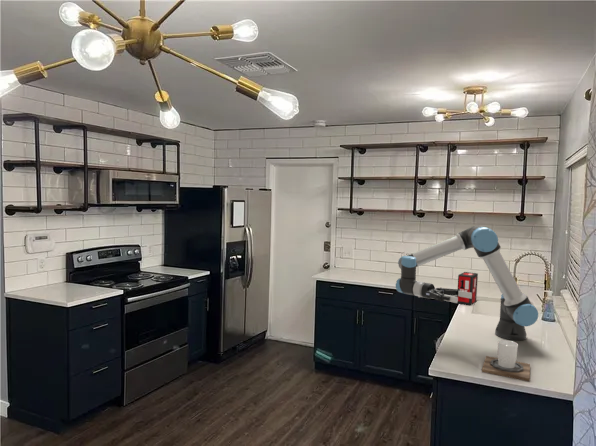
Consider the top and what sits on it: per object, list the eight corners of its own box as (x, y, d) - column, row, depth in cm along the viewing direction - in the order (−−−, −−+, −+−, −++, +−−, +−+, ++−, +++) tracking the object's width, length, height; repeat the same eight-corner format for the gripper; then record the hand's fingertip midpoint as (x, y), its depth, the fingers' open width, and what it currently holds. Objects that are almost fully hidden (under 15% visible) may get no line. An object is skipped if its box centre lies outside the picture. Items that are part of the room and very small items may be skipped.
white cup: (510, 362, 197) (512, 340, 196) (520, 369, 189) (521, 346, 188) (493, 361, 197) (494, 339, 196) (501, 369, 189) (503, 346, 188)
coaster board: (486, 358, 205) (486, 354, 205) (530, 366, 197) (530, 362, 197) (481, 371, 189) (482, 367, 189) (529, 381, 181) (529, 376, 181)
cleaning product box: (470, 305, 303) (471, 276, 301) (456, 303, 308) (458, 274, 306) (476, 301, 316) (477, 273, 315) (463, 299, 321) (464, 271, 320)
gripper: (437, 293, 233) (476, 301, 217) (410, 301, 216) (450, 310, 200) (437, 279, 232) (477, 286, 217) (410, 285, 215) (451, 293, 200)
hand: (464, 297), depth 208 cm, fingers open, 13 cm apart
